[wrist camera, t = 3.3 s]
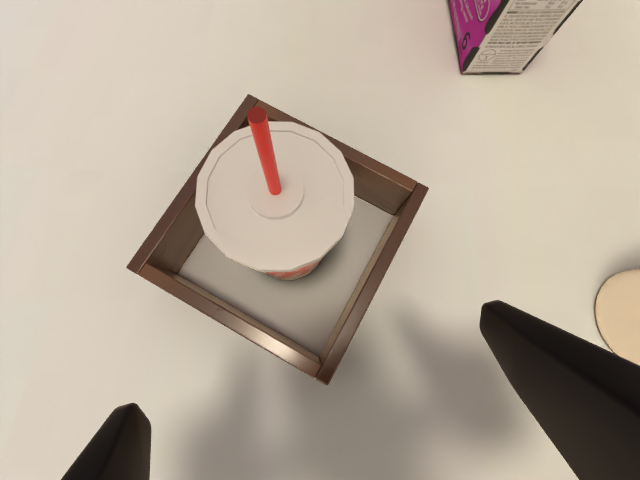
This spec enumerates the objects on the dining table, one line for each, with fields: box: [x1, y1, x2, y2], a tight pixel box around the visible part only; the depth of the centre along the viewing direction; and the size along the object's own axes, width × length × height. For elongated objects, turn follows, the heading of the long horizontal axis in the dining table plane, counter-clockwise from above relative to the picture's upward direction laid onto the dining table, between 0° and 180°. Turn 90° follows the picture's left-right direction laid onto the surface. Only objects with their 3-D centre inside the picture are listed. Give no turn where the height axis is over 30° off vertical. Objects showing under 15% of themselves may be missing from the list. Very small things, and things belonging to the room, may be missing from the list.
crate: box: [126, 94, 429, 385], centre depth 20 cm, size 11×11×4 cm
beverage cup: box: [195, 107, 354, 280], centre depth 15 cm, size 6×6×14 cm
